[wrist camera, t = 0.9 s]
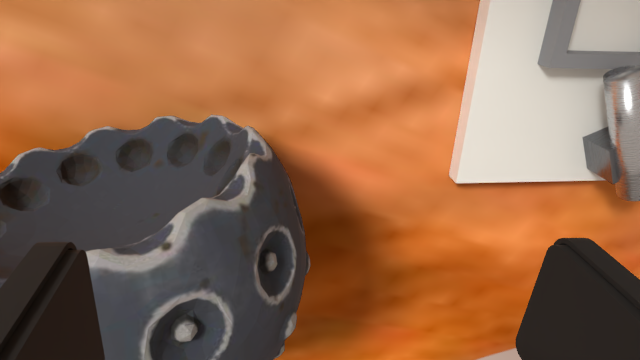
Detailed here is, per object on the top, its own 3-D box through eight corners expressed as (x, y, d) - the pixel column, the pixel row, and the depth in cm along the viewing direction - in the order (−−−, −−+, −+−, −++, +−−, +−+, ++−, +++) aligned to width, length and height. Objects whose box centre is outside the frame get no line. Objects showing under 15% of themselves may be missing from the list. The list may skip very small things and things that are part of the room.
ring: (302, 214, 37) (345, 445, 19) (58, 263, 36) (-136, 555, 18) (277, 87, 32) (302, 238, 14) (-5, 140, 31) (-353, 370, 13)
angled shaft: (573, 73, 33) (613, 87, 29) (614, 55, 33) (660, 67, 29) (589, 183, 38) (626, 207, 34) (625, 167, 37) (666, 190, 34)
